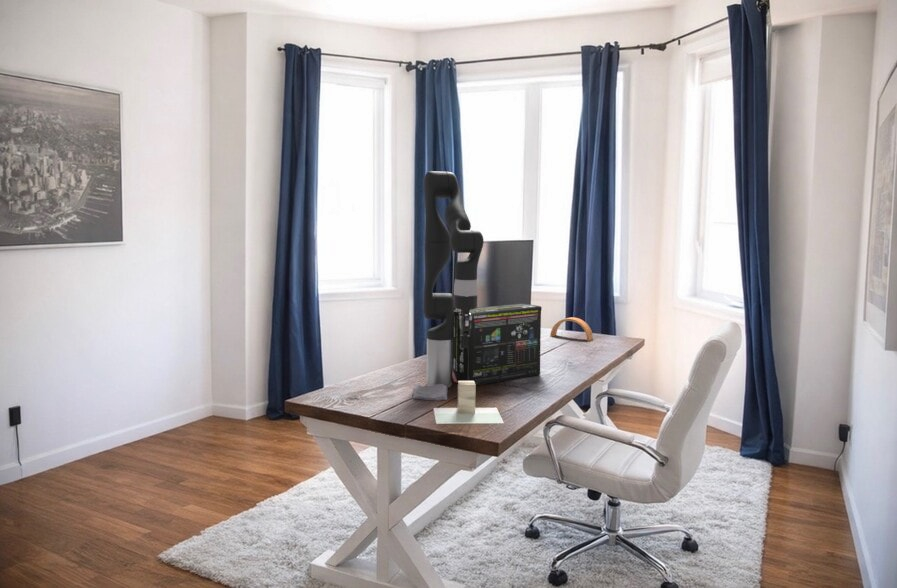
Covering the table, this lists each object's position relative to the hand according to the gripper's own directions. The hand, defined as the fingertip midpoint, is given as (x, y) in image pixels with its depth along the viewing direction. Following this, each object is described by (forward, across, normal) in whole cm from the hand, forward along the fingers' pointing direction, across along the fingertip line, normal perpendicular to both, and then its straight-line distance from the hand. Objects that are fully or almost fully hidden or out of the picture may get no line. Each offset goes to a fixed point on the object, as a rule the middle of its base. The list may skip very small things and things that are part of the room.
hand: (464, 346), depth 228 cm
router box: (+19, -35, +16) cm, 43 cm away
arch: (+19, -115, +64) cm, 133 cm away
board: (+19, +14, 0) cm, 23 cm away
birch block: (+18, +9, 0) cm, 21 cm away
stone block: (+20, -8, -10) cm, 23 cm away
